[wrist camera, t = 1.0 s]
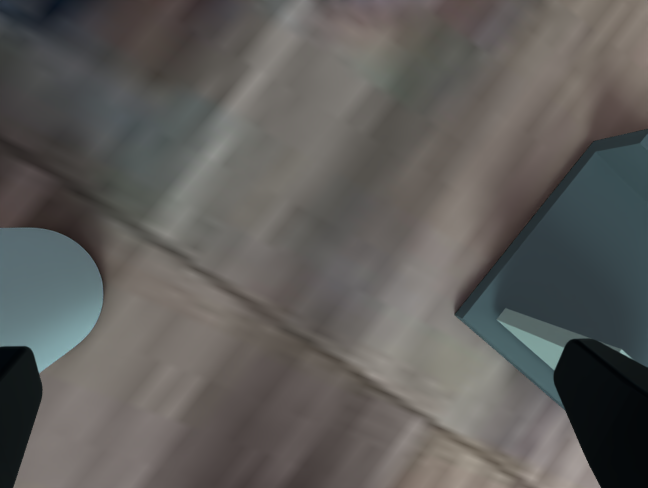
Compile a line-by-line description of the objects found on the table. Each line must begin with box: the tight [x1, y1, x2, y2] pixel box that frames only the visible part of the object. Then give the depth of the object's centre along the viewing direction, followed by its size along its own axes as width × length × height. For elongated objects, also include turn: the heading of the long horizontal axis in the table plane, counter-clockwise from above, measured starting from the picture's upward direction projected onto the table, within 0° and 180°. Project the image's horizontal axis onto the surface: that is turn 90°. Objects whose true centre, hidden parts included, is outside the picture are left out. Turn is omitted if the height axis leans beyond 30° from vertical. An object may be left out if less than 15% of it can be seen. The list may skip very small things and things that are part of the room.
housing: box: [455, 129, 648, 410], centre depth 26 cm, size 13×13×4 cm
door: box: [496, 308, 632, 370], centre depth 22 cm, size 1×11×8 cm, turn 49°
